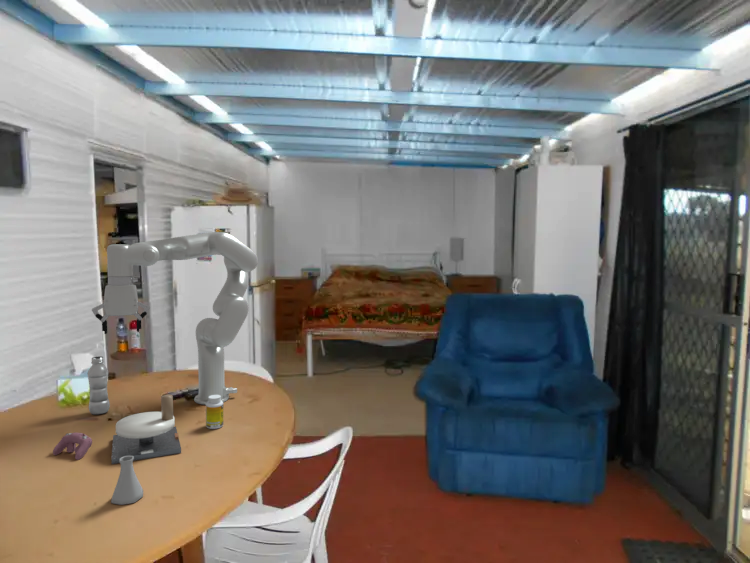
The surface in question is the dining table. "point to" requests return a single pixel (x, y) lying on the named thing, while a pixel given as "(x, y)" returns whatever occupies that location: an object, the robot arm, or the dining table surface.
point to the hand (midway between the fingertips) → (122, 332)
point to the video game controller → (69, 443)
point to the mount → (146, 446)
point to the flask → (127, 484)
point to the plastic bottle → (98, 386)
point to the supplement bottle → (214, 412)
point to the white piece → (148, 421)
